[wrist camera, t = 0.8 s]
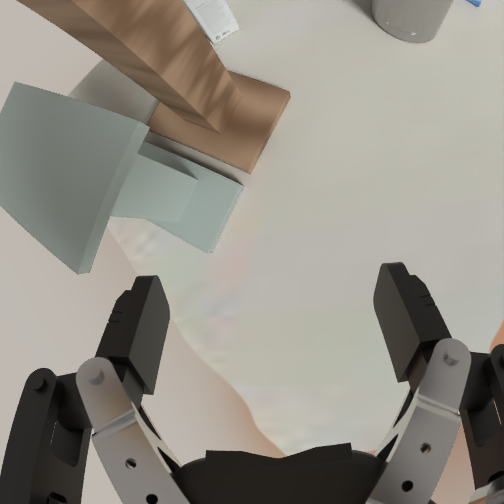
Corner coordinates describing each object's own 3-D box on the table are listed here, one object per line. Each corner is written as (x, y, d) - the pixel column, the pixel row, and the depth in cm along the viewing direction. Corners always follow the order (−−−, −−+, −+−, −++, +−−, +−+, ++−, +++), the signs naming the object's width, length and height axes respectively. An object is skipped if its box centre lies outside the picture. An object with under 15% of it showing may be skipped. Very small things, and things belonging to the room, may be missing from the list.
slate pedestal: (146, 142, 36) (14, 81, 15) (244, 186, 33) (139, 121, 13) (119, 201, 37) (-24, 181, 16) (211, 252, 34) (77, 274, 14)
